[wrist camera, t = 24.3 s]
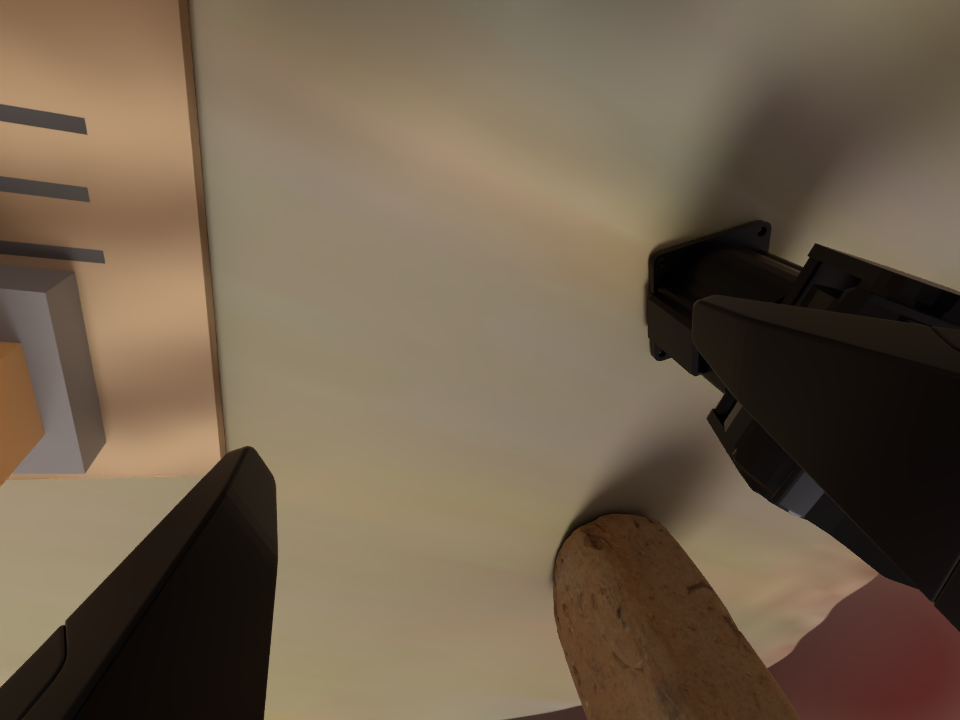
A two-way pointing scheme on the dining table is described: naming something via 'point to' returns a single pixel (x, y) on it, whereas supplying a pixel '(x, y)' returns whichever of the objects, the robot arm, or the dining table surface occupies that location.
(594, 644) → the bread loaf
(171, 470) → the board
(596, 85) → the dining table surface
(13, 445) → the sanding block
